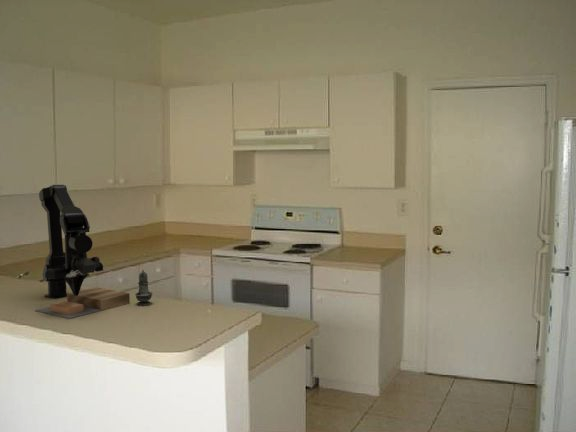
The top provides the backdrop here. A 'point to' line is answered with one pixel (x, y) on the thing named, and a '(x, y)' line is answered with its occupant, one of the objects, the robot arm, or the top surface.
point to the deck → (99, 298)
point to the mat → (86, 311)
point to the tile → (66, 307)
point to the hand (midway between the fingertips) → (76, 295)
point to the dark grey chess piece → (143, 290)
